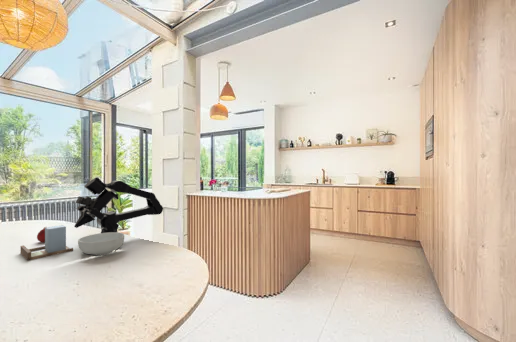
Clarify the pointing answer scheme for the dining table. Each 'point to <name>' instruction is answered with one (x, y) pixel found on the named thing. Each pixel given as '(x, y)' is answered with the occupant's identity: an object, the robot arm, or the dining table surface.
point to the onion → (41, 235)
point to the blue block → (55, 238)
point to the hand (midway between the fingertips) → (75, 227)
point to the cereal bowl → (101, 243)
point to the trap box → (31, 256)
